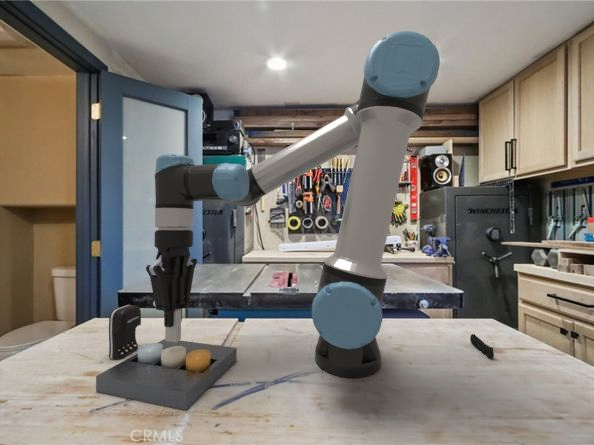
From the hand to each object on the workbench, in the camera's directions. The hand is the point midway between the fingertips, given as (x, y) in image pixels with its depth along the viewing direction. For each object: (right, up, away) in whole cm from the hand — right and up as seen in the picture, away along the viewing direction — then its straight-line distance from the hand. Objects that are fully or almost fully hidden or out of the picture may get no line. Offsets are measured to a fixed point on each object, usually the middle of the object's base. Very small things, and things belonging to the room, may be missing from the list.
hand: (173, 340), depth 58 cm
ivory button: (0, -4, 0) cm, 4 cm away
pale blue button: (-6, -4, +2) cm, 7 cm away
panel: (0, -7, 0) cm, 7 cm away
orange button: (+6, -4, -2) cm, 7 cm away
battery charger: (-16, -8, +9) cm, 20 cm away
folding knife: (+73, -8, +11) cm, 74 cm away
